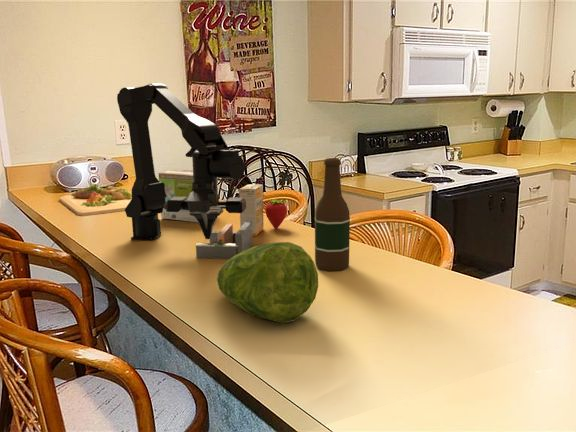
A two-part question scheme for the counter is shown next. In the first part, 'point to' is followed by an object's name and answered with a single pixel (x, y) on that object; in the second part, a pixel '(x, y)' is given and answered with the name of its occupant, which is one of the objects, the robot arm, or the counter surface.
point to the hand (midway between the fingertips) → (207, 238)
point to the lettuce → (270, 281)
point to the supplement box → (252, 206)
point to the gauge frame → (224, 250)
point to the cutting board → (97, 200)
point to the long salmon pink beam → (226, 234)
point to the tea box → (177, 192)
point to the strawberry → (276, 212)
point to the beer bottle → (332, 222)
